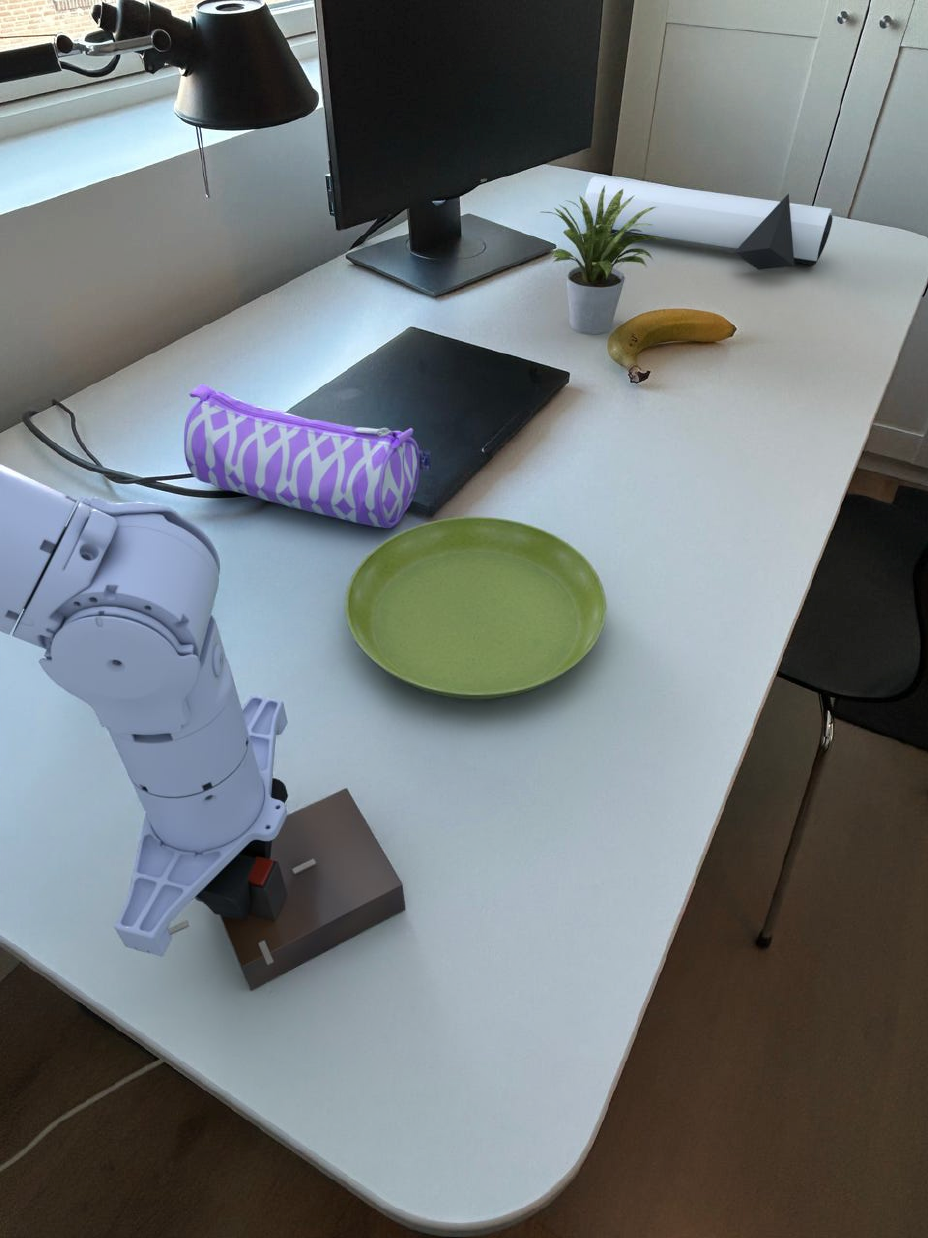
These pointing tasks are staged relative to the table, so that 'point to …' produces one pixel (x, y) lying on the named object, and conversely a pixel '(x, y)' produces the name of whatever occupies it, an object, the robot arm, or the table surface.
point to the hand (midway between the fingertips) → (240, 893)
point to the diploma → (720, 221)
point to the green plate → (475, 607)
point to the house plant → (598, 264)
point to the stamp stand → (317, 890)
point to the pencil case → (302, 460)
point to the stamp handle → (265, 888)
